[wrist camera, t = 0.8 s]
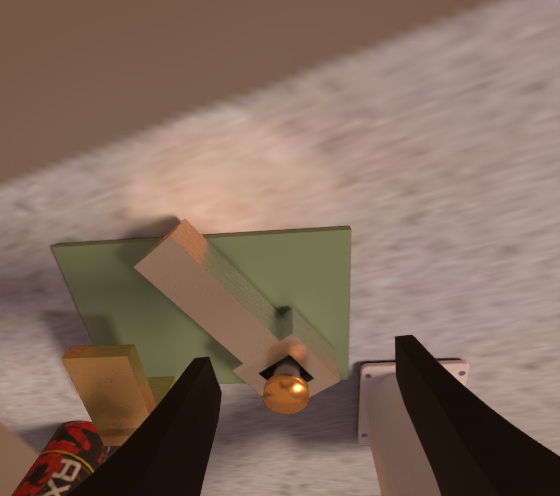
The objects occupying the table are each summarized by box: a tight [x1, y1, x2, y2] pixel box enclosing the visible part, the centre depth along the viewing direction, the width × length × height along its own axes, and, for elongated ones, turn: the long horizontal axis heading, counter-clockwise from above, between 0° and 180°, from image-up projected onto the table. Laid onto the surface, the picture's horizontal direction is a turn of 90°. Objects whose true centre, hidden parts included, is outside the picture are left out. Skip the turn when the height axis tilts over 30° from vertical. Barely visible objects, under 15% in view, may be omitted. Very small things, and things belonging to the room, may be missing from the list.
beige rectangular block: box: [134, 219, 340, 397], centre depth 20 cm, size 14×5×3 cm, turn 39°
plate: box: [52, 226, 351, 384], centre depth 23 cm, size 13×19×1 cm, turn 94°
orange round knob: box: [263, 355, 309, 414], centre depth 21 cm, size 3×3×5 cm
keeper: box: [62, 344, 176, 446], centre depth 22 cm, size 8×4×4 cm, turn 4°
